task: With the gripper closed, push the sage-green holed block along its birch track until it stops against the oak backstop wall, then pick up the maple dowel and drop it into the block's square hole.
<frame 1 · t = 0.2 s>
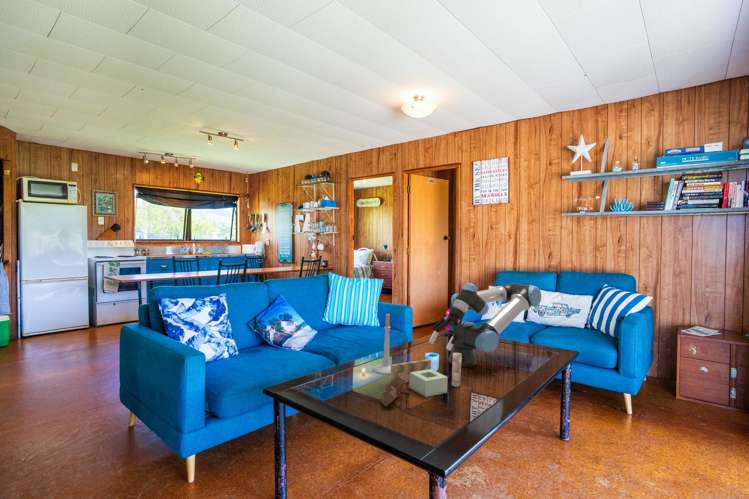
hand: (438, 346, 196), 16 cm above the table, tool tilted 35°, fingers open, 13 cm apart
dowel: (455, 387, 183), on the table
candlestick: (385, 370, 205), on the table
wooden block set: (391, 398, 168), on the table, touching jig
sliding block: (428, 382, 176), point 5 cm above the table, slide at 6.0 cm
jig: (410, 383, 188), on the table
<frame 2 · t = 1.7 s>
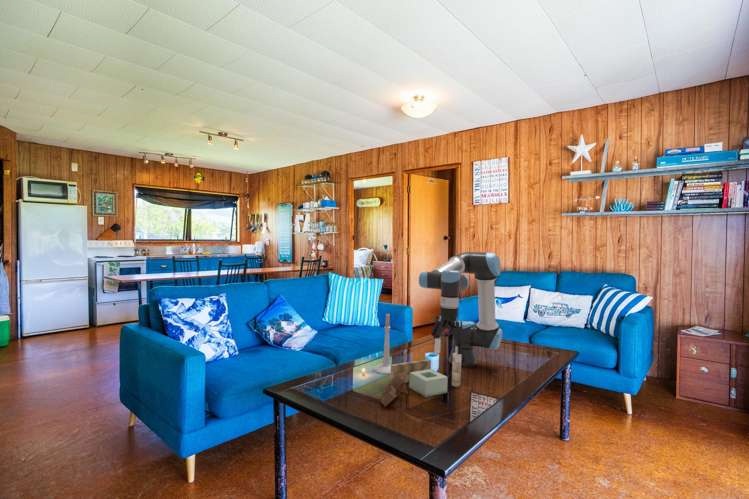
hand: (447, 357, 165), 19 cm above the table, tool pointing down, fingers open, 13 cm apart
nothing on the table moved.
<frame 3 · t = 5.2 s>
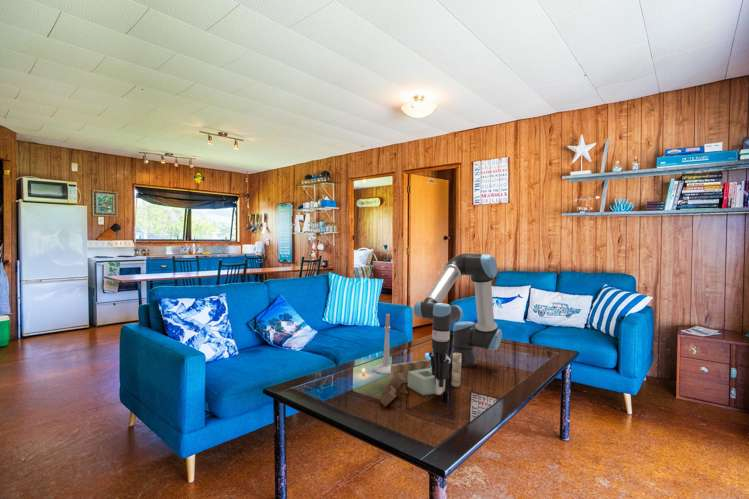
hand: (438, 393, 170), 2 cm above the table, tool pointing down, fingers closed
sliding block: (426, 381, 177), point 5 cm above the table, slide at 4.5 cm, touching gripper
everything else where it was.
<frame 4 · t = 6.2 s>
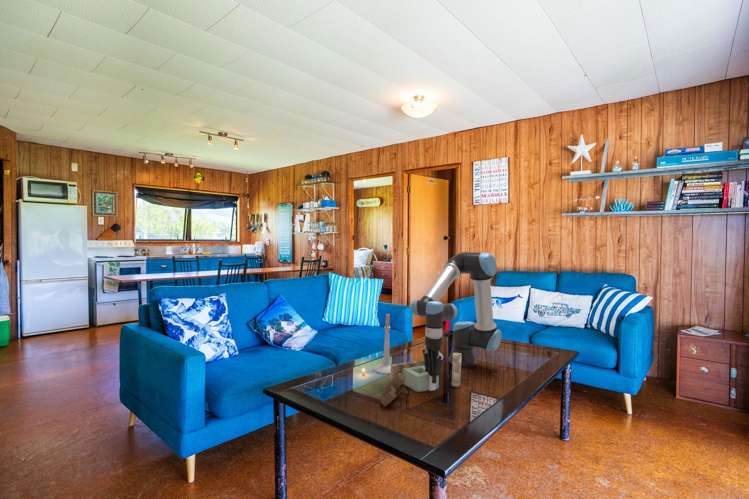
hand: (432, 389, 174), 2 cm above the table, tool pointing down, fingers closed
sliding block: (420, 378, 181), point 5 cm above the table, slide at -0.1 cm, touching gripper
everything else where it was.
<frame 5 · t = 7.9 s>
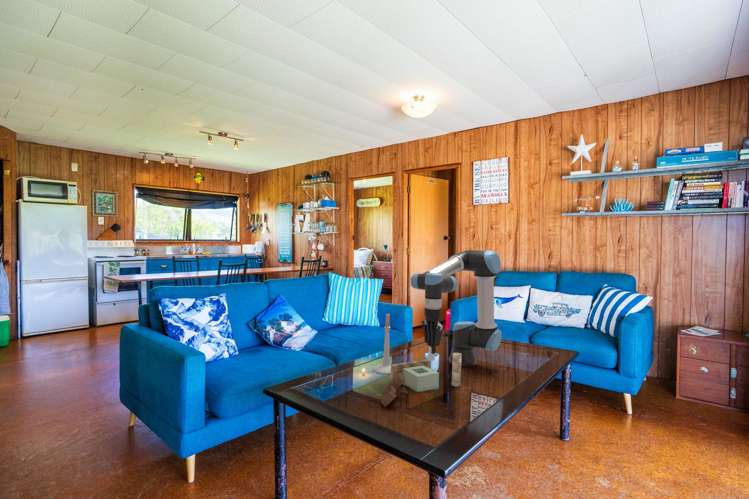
hand: (431, 360, 175), 15 cm above the table, tool pointing down, fingers closed
sliding block: (420, 378, 181), point 5 cm above the table, slide at 0.0 cm
everything else where it was.
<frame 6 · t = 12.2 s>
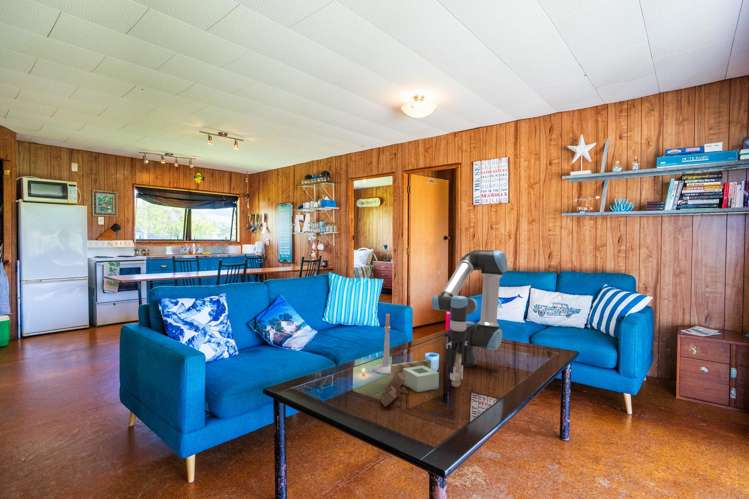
hand: (456, 378, 183), 4 cm above the table, tool pointing down, fingers closed on dowel, 4 cm apart
dowel: (455, 387, 183), on the table, touching gripper
everything else where it was.
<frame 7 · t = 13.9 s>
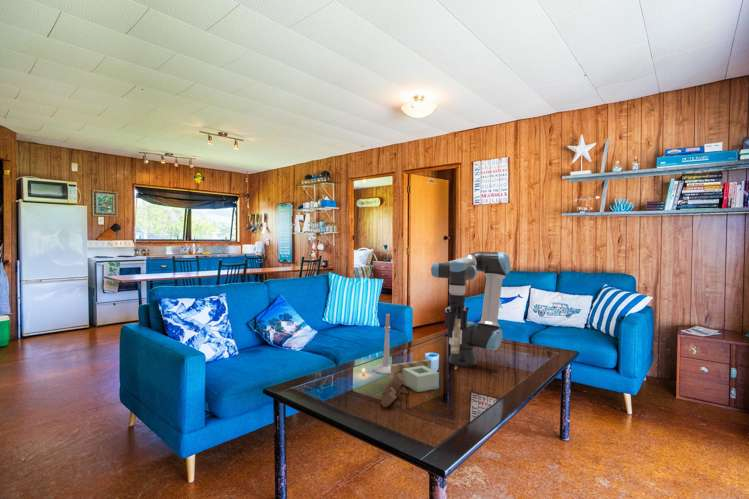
hand: (455, 343, 183), 21 cm above the table, tool pointing down, fingers closed on dowel, 4 cm apart
dowel: (454, 352, 183), point 17 cm above the table, touching gripper
everything else where it was.
when the fingers open (10 cm above the table, at t = 17.7 s): dowel drops 3 cm, resting on sliding block.
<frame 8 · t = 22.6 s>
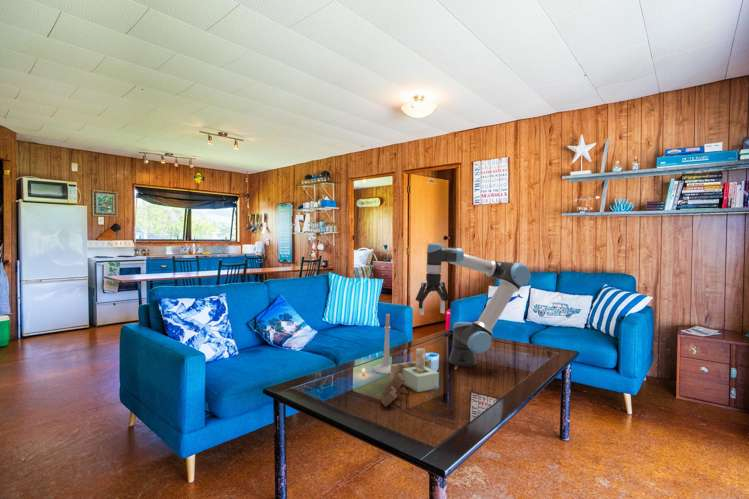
hand: (432, 314, 203), 31 cm above the table, tool pointing down, fingers open, 13 cm apart
dowel: (419, 383, 181), point 2 cm above the table, touching sliding block
sliding block: (420, 378, 181), point 5 cm above the table, slide at 0.0 cm, touching dowel
everything else where it was.
at the end: sliding block slide at 0.0 cm; dowel 0.1 cm off-centre on the sliding block, point 1.0 cm above the sliding block's base; dowel tilted 1° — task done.
